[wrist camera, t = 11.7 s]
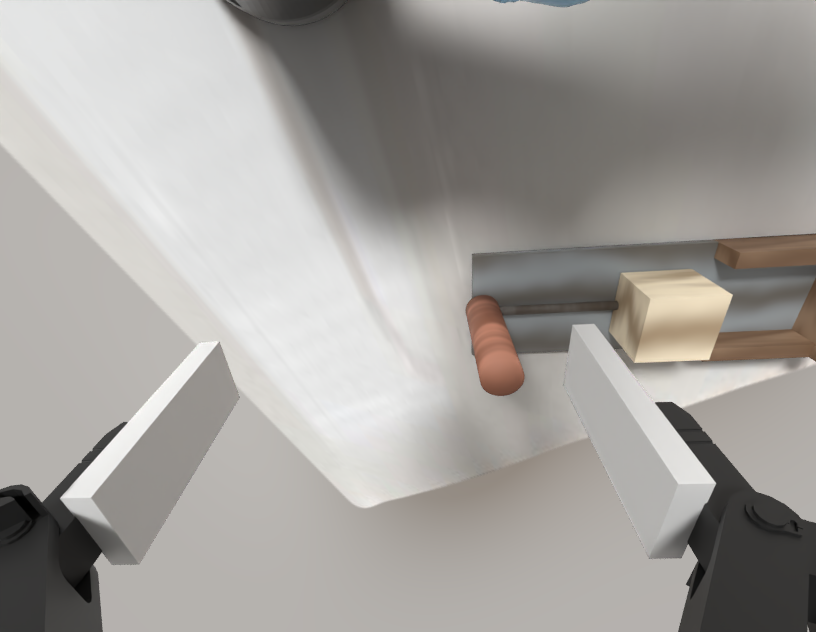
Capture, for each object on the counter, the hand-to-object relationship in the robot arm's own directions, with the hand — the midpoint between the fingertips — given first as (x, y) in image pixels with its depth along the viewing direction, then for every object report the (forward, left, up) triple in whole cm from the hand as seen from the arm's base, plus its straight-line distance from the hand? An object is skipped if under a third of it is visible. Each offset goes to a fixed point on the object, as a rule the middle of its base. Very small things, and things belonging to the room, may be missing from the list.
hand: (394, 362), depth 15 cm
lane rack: (+12, +24, -27) cm, 38 cm away
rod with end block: (+12, +17, -26) cm, 33 cm away
